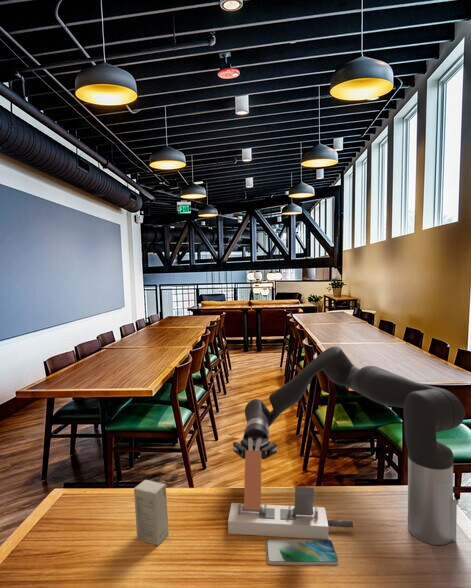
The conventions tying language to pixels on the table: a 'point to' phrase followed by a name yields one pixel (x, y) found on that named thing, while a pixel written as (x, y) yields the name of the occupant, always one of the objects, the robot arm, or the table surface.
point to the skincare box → (151, 511)
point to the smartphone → (301, 552)
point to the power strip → (282, 522)
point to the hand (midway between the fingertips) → (252, 463)
